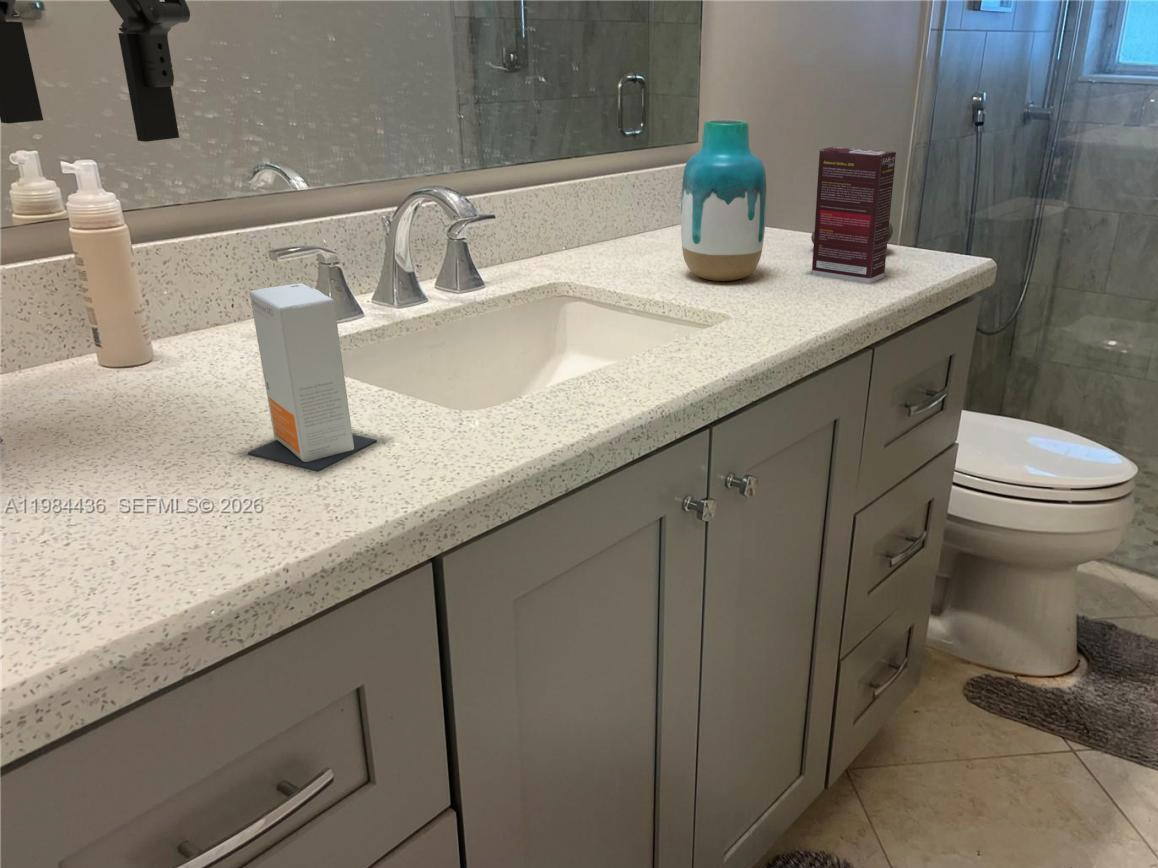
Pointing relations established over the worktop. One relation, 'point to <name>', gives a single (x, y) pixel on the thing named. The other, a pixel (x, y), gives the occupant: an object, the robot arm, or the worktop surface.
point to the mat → (286, 456)
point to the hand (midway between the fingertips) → (88, 130)
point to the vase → (723, 204)
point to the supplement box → (852, 213)
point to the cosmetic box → (303, 370)
